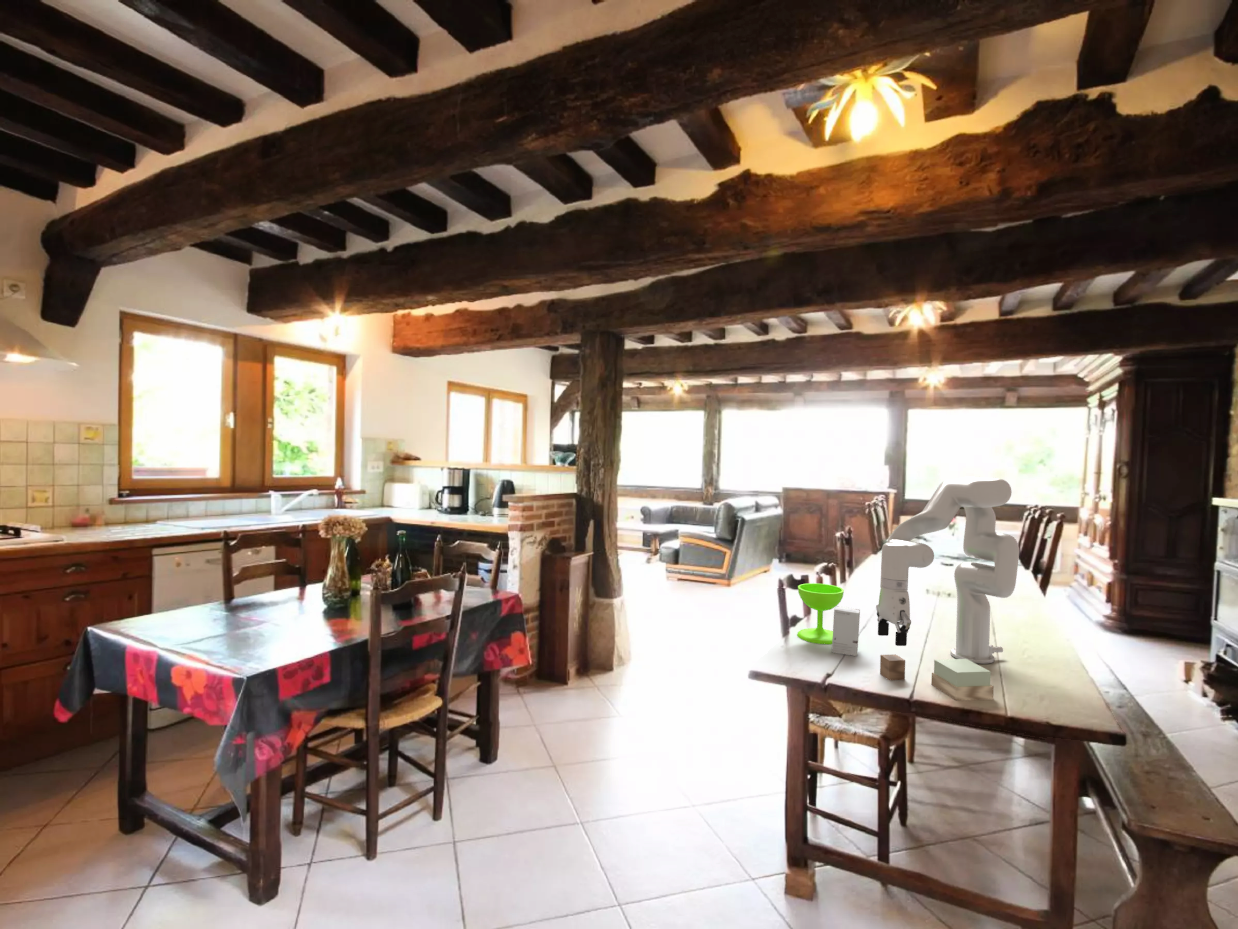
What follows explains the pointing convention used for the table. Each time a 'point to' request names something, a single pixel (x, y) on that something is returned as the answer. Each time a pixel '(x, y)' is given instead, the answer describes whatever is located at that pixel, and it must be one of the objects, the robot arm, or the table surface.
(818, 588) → the wineglass
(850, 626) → the skincare box
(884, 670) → the walnut block
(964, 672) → the block top
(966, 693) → the block bottom
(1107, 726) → the table surface
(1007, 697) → the table surface
